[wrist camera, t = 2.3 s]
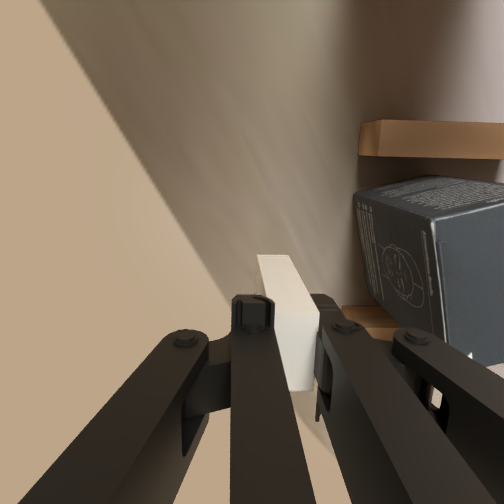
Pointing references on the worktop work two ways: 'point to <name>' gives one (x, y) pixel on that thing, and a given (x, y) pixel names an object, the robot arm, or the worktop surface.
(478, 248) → the box
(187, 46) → the worktop surface
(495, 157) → the brown bar
